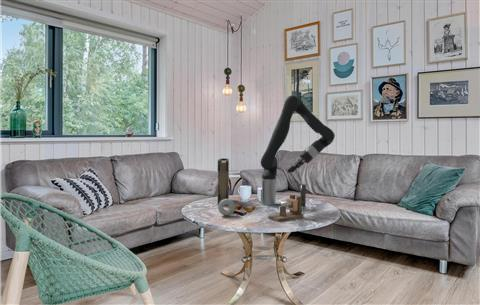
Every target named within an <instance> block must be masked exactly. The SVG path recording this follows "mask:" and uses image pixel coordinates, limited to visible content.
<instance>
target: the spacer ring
mask: <svg viewBox="0 0 480 305" xmlns="http://www.w3.org/2000/svg"><path fill="white" fill-rule="evenodd" d="M289 201H292V202H293V208H292V207H291V205H290V206H285V207H286V210H289V211H290V210H293V211H297V206H298V200H296V198H295V199H290V197H288V198H286V202H289Z"/></svg>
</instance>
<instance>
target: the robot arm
mask: <svg viewBox="0 0 480 305" xmlns="http://www.w3.org/2000/svg"><path fill="white" fill-rule="evenodd" d="M281 110H282V111H281V113H280V115H279V118H278V119H277V123H276V125H275V126H274V129H273V132H272V135H271V137H270V139H269V142H268V145H267V148H266V150H265V151H264V153H263V155H262V157H261V159H260V166H261V167H262V168H263V169H264V170H263V173H262V175H261V188H260V204H261V205H262V206H274V205H276V193H277V192H276V188H277V187H276V184H277V182H276V180H277V173H278V159H277V156H276V155H277V153H278V151H279V149H280V148H281V147H282V146H283V144H284V142H285V140H286V139H287V137H288V134H289V131H290V127H291V120H292V117H293V115H294V112H295V113H297V114H298V115H299V116H300V117H301V118H302V119H303V120H304V121H305V123H306V124H307V125H308V127H309V128H310V129H311V130H312V131H314V132H315V133H316V134H319V135H320V136H321V137H320V138H319V139H317V140H315V141H313V142H312V143H311V144H310V145H308V146H307V147H306V148H305V149H304V150H303V151H302V152H300V154H299V158H298V159H297V160H296V161H295V162H294V163H293V164H292V165H291V167H289V168H288V169H287V170H286V171H287V172H288V174H290V173H294V172H295V171H296V170H297V169H300V168H301V167H302V166H303V165H304V164H309V163H311V161H313V159H315V158H316V157H317V156H318V155H319V154H320V153H321V152H322V151H323V150H324V149H325V148H326V147H327V148H328V146H329V145H331V144H332V143H334V142H333V141H335V140H334V139H335V136H336V135H335V132H334V131H333V130H332V129H331V128H330V127H328V126H327V125H325V124H323V122H322V121H321V120H320V119H319V118H317V117H316V116H315V115H314V114H313V113H312V112H311V111H310V110H309V108H307V106H306V105H305V104H304V102H303V101H302V99H301V98H300V97H298V96H296V95H289V96H287V97H286V98H285V101H284V103H283V106H282V109H281Z"/></svg>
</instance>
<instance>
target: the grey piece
mask: <svg viewBox="0 0 480 305" xmlns="http://www.w3.org/2000/svg"><path fill="white" fill-rule="evenodd" d="M306 191H307V184H304V183H301V184H300V196H301V197H302V208H305V207H306V203H307V202H306V197H307V196H306V193H307V192H306ZM290 205H293V202H292V201H289V202H287V201H283V202H280V206H279V207H286V206H290Z"/></svg>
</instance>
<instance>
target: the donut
mask: <svg viewBox="0 0 480 305" xmlns="http://www.w3.org/2000/svg"><path fill="white" fill-rule="evenodd" d="M226 205H228V209H225V206H226ZM217 209H218V210H217V211H218V213H220V214H221V215H222V216H225V217H227V216H228V217H229V216H231V215H232V214H233V213H234V212H235V210H236V204H235V202H234V201H233V200H232V199H231V198H229V199H223V200H222V201H221V202H220V203H219V205H218V204H217Z"/></svg>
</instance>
